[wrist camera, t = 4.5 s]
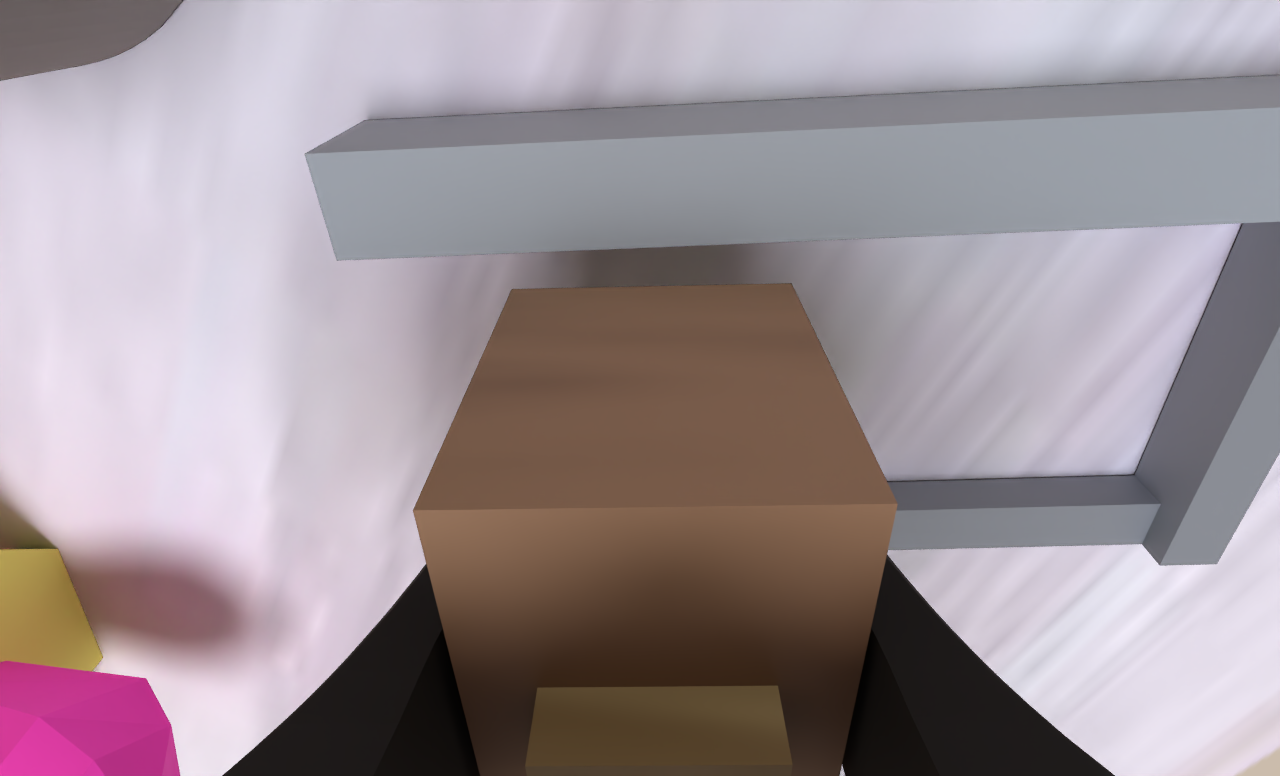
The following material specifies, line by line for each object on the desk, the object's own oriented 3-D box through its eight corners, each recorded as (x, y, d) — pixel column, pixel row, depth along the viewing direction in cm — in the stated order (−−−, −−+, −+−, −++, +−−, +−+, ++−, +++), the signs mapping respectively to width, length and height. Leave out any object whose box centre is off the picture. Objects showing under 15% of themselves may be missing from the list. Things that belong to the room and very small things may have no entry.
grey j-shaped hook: (1169, 513, 20) (1243, 593, 18) (467, 531, 21) (442, 609, 18) (1384, 69, 14) (1550, 94, 11) (365, 119, 15) (304, 153, 12)
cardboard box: (765, 568, 16) (837, 931, 10) (548, 570, 16) (487, 931, 10) (790, 283, 12) (933, 576, 6) (511, 288, 12) (380, 583, 6)
